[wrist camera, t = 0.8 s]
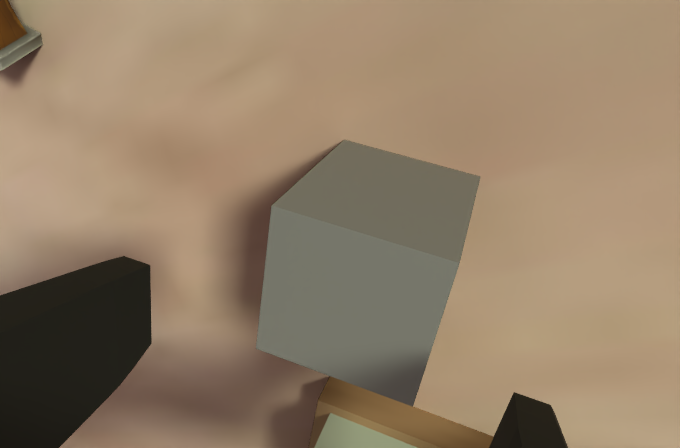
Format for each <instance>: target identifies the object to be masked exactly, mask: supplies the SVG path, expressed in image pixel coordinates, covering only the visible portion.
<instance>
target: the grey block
mask: <svg viewBox="0 0 680 448" xmlns="http://www.w3.org/2000/svg"><path fill="white" fill-rule="evenodd" d="M479 181H480V176H476V175H473V174H469V173H465V172H462V171H458V170H454V169H451V168H447V167H443V166H439V165H436V164H432V163H428V162H425V161H421V160H417V159H414V158H410V157H406V156H403V155H399V154H395V153H391V152H388V151H384V150H380V149H377V148H373V147H369V146H366V145H362V144H358V143H354V142H351V141H347V140H343V141H342V142H341V143H340V144H339V145H338V146H337V147H336V148H335V149H333V150H332V151H331V152H330V153H329V154H328V155H327V156H326V157H325V158H323V159H322V160H321V161H320V162H319V163H318V164H317V165H316V166H315V167H314V168H312V169H311V170H310V171H309V172H308V173H307V174H306V175H305V176H304V177H302V178H301V179H300V180H299V181H298V182H297V183H296V184H295V185H294V186H293V187H291V188H290V189H289V190H288V191H287V192H286V193H285V194H284V195H283V196H282V197H280V198H279V199H278V200H277V201H276V202H275V203H274V204H273V205H272V206H271V215H270V225H269V234H268V243H267V252H266V261H265V270H264V279H263V288H262V297H261V307H260V316H259V325H258V334H257V343H256V349H258V350H261V351H264V352H266V353H269V354H272V355H274V356H277V357H280V358H282V359H285V360H288V361H291V362H293V363H296V364H299V365H301V366H304V367H307V368H309V369H312V370H315V371H318V372H320V373H323V374H326V375H328V376H331V377H334V378H336V379H339V380H342V381H345V382H347V383H350V384H353V385H355V386H358V387H361V388H363V389H366V390H369V391H372V392H374V393H377V394H380V395H382V396H385V397H388V398H390V399H393V400H396V401H399V402H401V403H404V404H407V405H409V406H412V407H413V404H414V401H415V398H416V395H417V392H418V389H419V386H420V383H421V380H422V377H423V374H424V371H425V368H426V364H427V361H428V358H429V355H430V352H431V349H432V346H433V343H434V340H435V337H436V334H437V331H438V328H439V325H440V321H441V318H442V315H443V312H444V309H445V306H446V303H447V300H448V297H449V294H450V291H451V288H452V285H453V281H454V278H455V275H456V272H457V269H458V266H459V263H460V259H461V255H462V251H463V247H464V242H465V238H466V234H467V230H468V226H469V222H470V218H471V214H472V209H473V205H474V201H475V197H476V193H477V189H478V185H479Z"/></svg>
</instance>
